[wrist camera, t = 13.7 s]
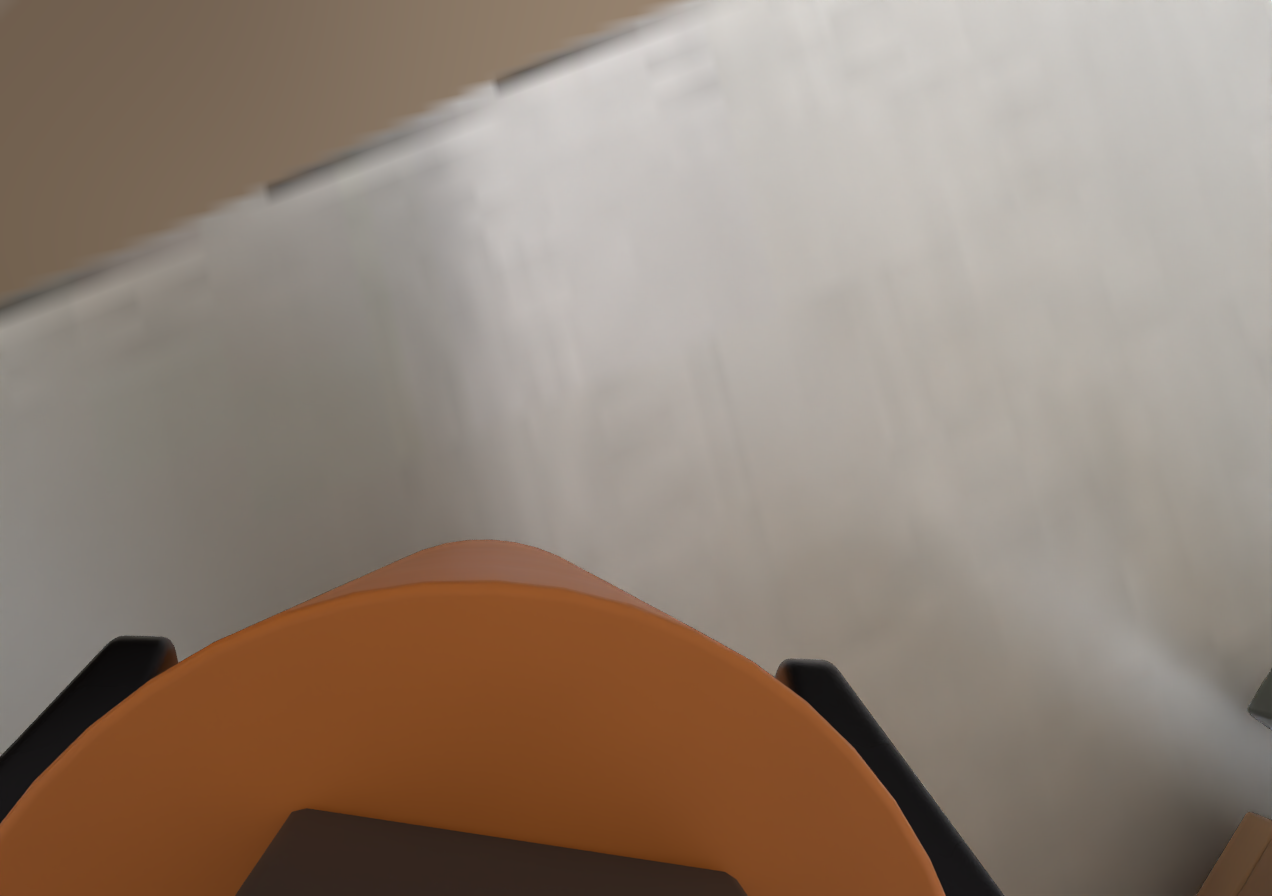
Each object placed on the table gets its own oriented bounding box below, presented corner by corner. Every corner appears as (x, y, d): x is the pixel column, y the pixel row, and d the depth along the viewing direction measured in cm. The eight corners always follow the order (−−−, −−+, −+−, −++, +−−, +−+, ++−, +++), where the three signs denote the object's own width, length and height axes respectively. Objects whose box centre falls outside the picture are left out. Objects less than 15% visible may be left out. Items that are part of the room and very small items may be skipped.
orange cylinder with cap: (622, 921, 16) (1158, 2545, 3) (266, 869, 16) (-812, 2559, 3) (684, 572, 16) (1385, 761, 4) (339, 510, 16) (-298, 471, 3)
